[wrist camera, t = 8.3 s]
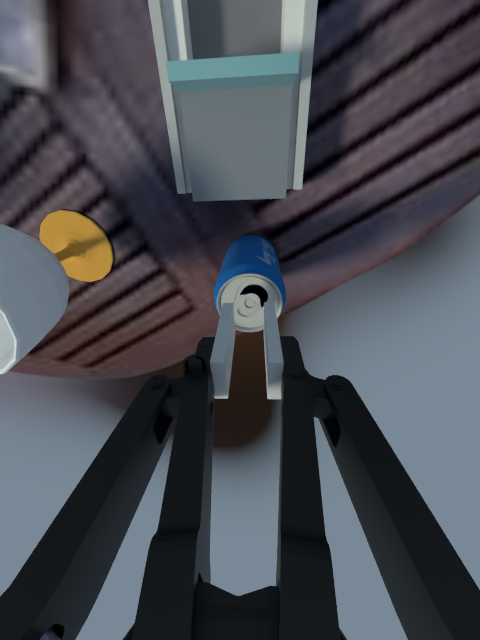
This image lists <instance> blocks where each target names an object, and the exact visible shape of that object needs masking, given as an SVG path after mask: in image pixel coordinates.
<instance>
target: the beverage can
mask: <svg viewBox="0 0 480 640" xmlns="http://www.w3.org/2000/svg"><path fill="white" fill-rule="evenodd" d="M285 301H286V290H285V286H284V282H283V278H282V274H281V270H280V267H279V263H278V259H277V255H276V252H275V249H274V247H273V246H272V245H271V243H270V242H269V241H267V240H266V239H264V238H262V237H260V236H256V235H246V236H242V237H240V238H238V239H236V240H235V241H234V242H232V244H231V245H230V246H229V247H228V249H227V251H226V254H225V257H224V261H223V264H222V267H221V270H220V273H219V276H218V279H217V282H216V285H215V289H214V302H215V306H216V308H217V310H218V312H219V315H221V310H222V306H223V303H233V305H234V321H235V329H236V330H239V331H243V332H256V331H260V330H263V329H264V302H275V309H276V316H277V318H278V317H279V315H280V313H281V312H282V310H283V308H284V305H285Z"/></svg>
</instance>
